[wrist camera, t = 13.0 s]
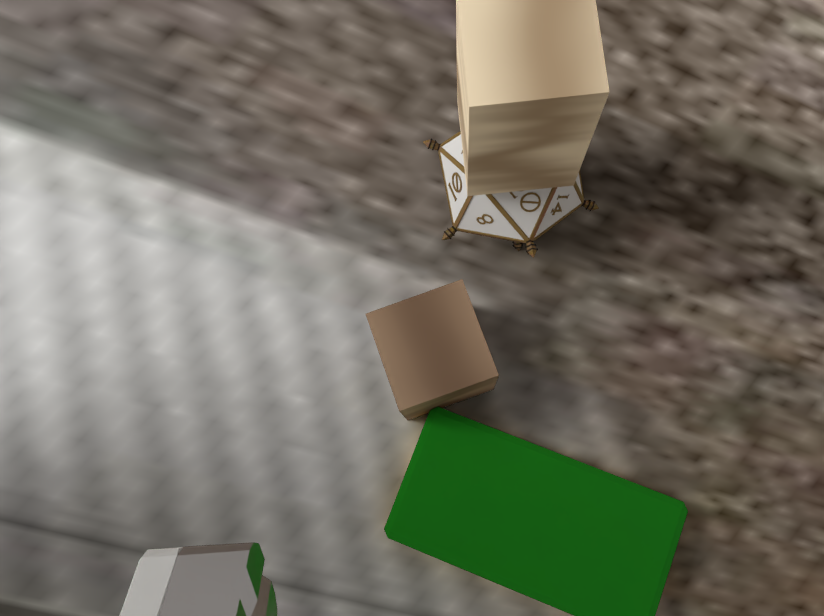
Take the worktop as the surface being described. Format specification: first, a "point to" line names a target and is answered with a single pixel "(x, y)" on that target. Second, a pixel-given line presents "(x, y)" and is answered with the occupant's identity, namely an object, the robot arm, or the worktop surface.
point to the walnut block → (433, 350)
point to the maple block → (527, 91)
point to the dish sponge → (535, 520)
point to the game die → (503, 203)
